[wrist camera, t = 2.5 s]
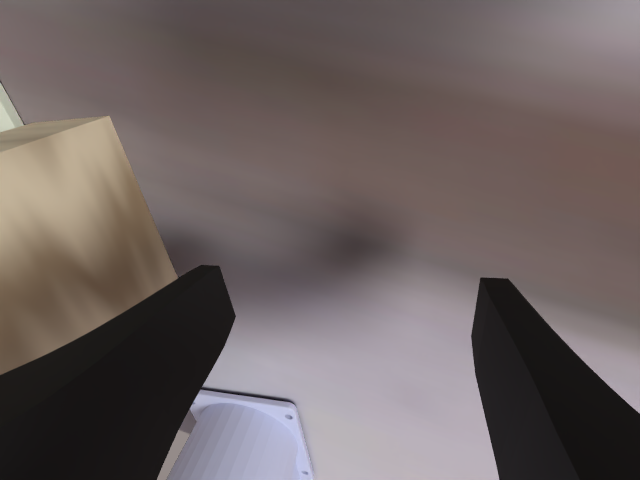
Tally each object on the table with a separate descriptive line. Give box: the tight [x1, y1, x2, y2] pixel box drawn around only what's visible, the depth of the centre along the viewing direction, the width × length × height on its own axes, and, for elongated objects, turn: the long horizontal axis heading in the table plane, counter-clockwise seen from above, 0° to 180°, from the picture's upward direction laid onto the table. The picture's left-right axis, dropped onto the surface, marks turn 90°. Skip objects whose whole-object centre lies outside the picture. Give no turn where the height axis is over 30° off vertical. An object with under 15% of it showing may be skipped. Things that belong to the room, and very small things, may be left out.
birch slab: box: [0, 116, 178, 375], centre depth 13 cm, size 9×4×8 cm, turn 7°
